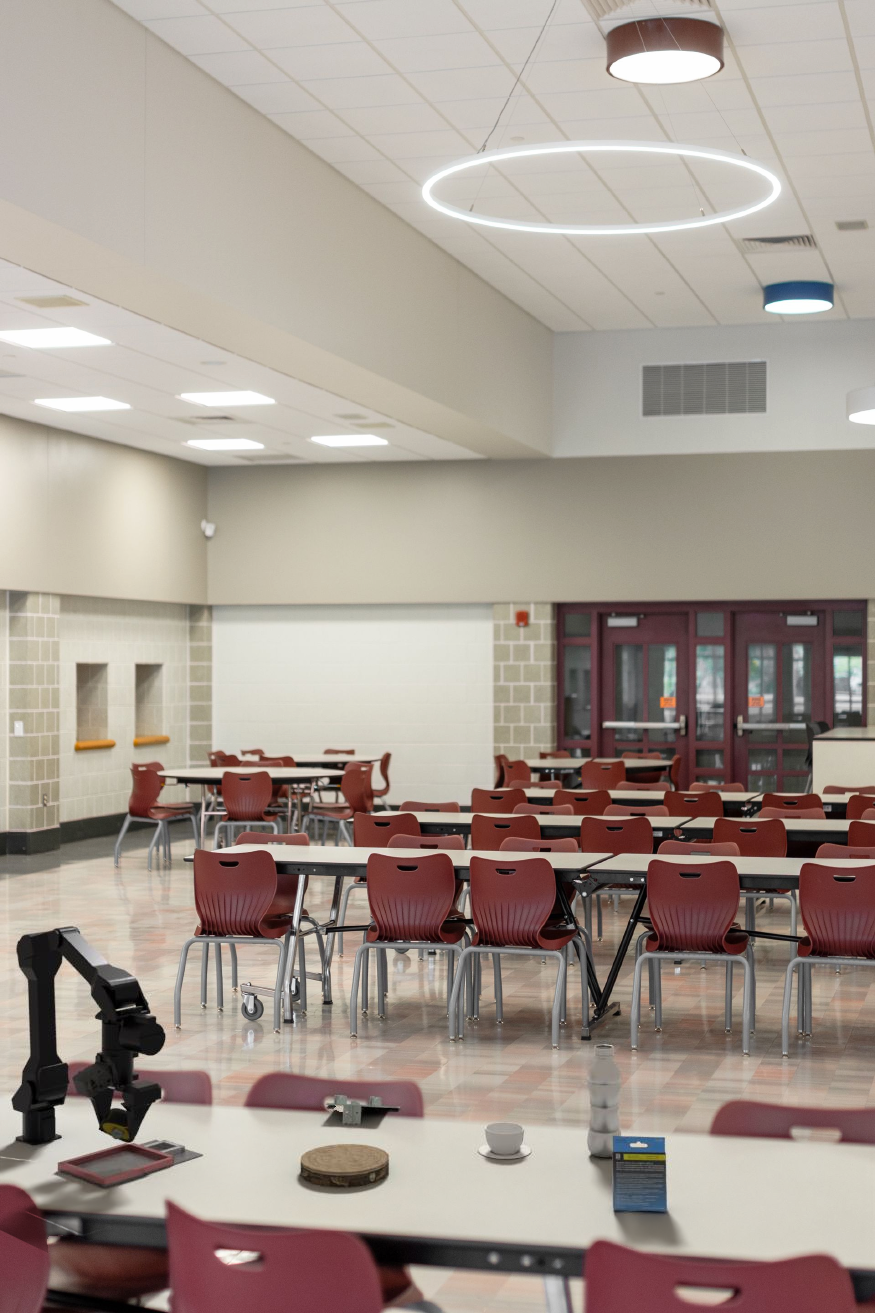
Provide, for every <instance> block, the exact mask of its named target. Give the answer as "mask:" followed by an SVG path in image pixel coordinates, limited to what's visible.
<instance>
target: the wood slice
mask: <svg viewBox="0 0 875 1313" xmlns="http://www.w3.org/2000/svg"><path fill="white" fill-rule="evenodd" d="M389 1158H390V1155H389V1153H388V1152H387V1151H385V1150H384V1149H382V1148H380V1147H376V1146H371V1145H368V1144H358V1143H356V1144H355V1143H342V1144H341V1143H339V1144H329V1145H324V1146H319V1147H315V1148H313V1149H311V1150H308V1151H306V1152H305V1153H303V1154H302V1155H301V1156H300V1177H301V1178H302V1180H303V1181H305V1182H306V1183H309V1184H311V1185H313V1186H318V1187H323V1188H330V1189H331V1188H332V1189H353V1188H362V1187H367V1186H370V1185H374V1184H377V1183H379V1182H381V1181H384V1180H385V1179H386V1178H388V1176H389V1174H390V1159H389Z"/></svg>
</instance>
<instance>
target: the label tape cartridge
mask: <svg viewBox="0 0 875 1313" xmlns="http://www.w3.org/2000/svg"><path fill="white" fill-rule="evenodd" d="M638 1142H639V1143H640V1144H643V1145H647V1146H631V1144H634V1145H635V1144H637V1143H638ZM611 1158H612V1159H611V1162H612V1164H611V1167H612V1209H613V1210H614V1211H629V1212H631V1211H632V1212H633V1211H637V1212H638V1211H640V1212H641V1211H642V1212H643V1211H645V1212H649V1211H650V1212H661V1213H662V1212H663V1213H664V1212H667V1210H668V1198H667V1197H668V1196H667V1195H668V1194H667V1193H668V1191H667V1190H668V1188H667V1183H668V1182H667V1152H666V1137H664V1136H663V1137H662V1136H661V1137H660V1136H659V1137H658V1136H633V1135H632V1136H630V1135H629V1136H627V1135H624V1136H623V1135H621V1136H613V1151H612V1157H611Z"/></svg>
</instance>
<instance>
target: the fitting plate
mask: <svg viewBox="0 0 875 1313" xmlns="http://www.w3.org/2000/svg"><path fill="white" fill-rule="evenodd" d="M203 1156H204V1154H202V1153H200V1152H196V1151H193V1150H190V1149H187V1148H186V1146H185V1145H183V1144H180V1143H178V1142H173V1141H169V1140H166V1139H162V1140H158V1139H153V1140H149V1141H147V1142H144V1143H139V1144H138V1143H135V1142H131V1143H126V1142H123V1143H121V1144H118V1145H115V1146H110V1147H108V1148H104V1149H100V1150H97V1151H93V1152H90V1153H86V1154H84V1155H80V1156H76V1157H74V1158H73V1157H72V1158H69V1159H67V1160H62V1161H59V1162H58V1161H57V1172H59V1173H62V1174H64V1175H66V1174H67V1176H69V1175H70V1177H72V1178H74V1179H77V1180H80V1181H82V1180H83V1181H82V1182H85V1181H86V1183H89V1184H90V1185H94V1186H96V1187H99V1188H102V1189H104V1190H105V1189H108V1188H110V1187H111V1188H112V1187H114V1186H117V1185H118V1186H119V1185H121V1184H124V1183H127V1182H131V1181H133V1180H137V1179H139V1178H143V1177H146V1176H149V1175H150V1174H151V1173H154V1172H157V1171H160V1170H164V1169H166V1168H169V1167H172V1166H176V1165H179V1164H181V1163H185V1162H188V1161H191V1160H193V1159H194V1160H195V1159H197V1158H200V1157H203Z"/></svg>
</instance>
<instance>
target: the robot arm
mask: <svg viewBox="0 0 875 1313" xmlns="http://www.w3.org/2000/svg"><path fill="white" fill-rule="evenodd" d="M15 950H16V954H17V962H18V968H19V969H20V971H21V973H23V975H24V976H25V978H26V980H27V993H28V994H27V996H28V1022H29V1024H28V1027H29V1030H28V1031H29V1057H28V1059H27V1061H26V1063H25V1065H24V1067H23V1069H22V1072H21V1084H20V1086H19V1087H18V1088H17V1091H16V1092H15V1093H14V1095H13V1096H12V1097H11V1099H10V1100H11V1105H12V1110H13V1111H15V1112H19V1113H21V1114H22V1116H21V1117H22V1118H21V1119H22V1123H21V1124H22V1126H21V1127H22V1132H21V1133H22V1134H21V1135H19V1136H15V1141H19V1142H20V1143H21V1142H22V1143H24V1144H27V1145H30V1146H33V1147H34V1146H35V1147H36V1146H39V1145H42V1144H46V1143H49V1142H52V1141H57V1140H59V1139H62V1138H63V1135H61V1134H57V1133H56V1129H57V1126H56V1124H57V1123H56V1120H57V1119H56V1107H58V1106H63V1105H64V1104H65V1101H66V1097H67V1092H68V1090H69V1085H70V1083H71V1082H70V1079H69V1069H70V1068H69V1064H68V1063H67V1062H63V1060H62V1059H61V1057H60V1056H59V1055H58V1048H57V1047H58V1046H57V1045H58V1044H57V1043H58V1042H57V1018H56V1016H57V1014H56V986H55V985H56V983H55V979H56V977H57V974H58V972H59V970H60V968H61V966H62V964H63V957H64V959H66V961H67V962H68V963H69V964H70V965H71V967H73V969H75V970H76V971H77V972H78V974H79V975H80V976H81V977H82V978H83V979H85V981H86V982H87V983H88V984H89V986H90V996H91V997H92V999H93V1000H94V1002H95V1004H96V1005H97V1007H98V1008H99V1009H100V1010H99V1011H98V1012H97V1013H96V1014H95V1015H94V1019H95V1020H98V1021H101V1051H100V1052H97V1053H96V1055H95V1057H94V1058H95V1059H94V1060H95V1062H94V1063H92V1064H90V1065H88V1066H87V1067H85V1068H84V1069H82V1070H79V1071H78V1072H77V1073H76V1074H74V1075H73V1076H72V1082H73V1085H74V1088H75V1091H76V1093H77V1095H82V1096H85V1097H86V1098H89V1100H90V1102H91V1105H92V1106H93V1111H94V1114H95V1117H96V1119H97V1124H98V1125H100V1124H101V1122H102V1120H103V1118H104V1115H105V1113H106V1112H107V1111H109V1110H110V1109H112V1108H111V1107H112V1103H113V1100H114V1095H115V1094H114V1093H115V1091H117V1092H120V1093H121V1098H122V1100H123V1102H120V1105H121V1106H122V1107H123V1108H124V1110H126V1111H127V1124H128V1134H129V1138H134V1137H135V1136H136V1137H137V1135H138V1133H139V1131H138V1130H140V1128H141V1125H142V1123H143V1121H144V1120H145V1117H146V1115H147V1113H148V1111H149V1110H150V1109H151V1106H152V1105H153V1104H154V1103H156V1101H159V1100H161V1099H162V1096H163V1095H162V1091H163V1088H162V1086H161V1085H160V1084H159V1083H158V1082H154V1081H150V1080H147V1079H144V1080H142V1081H138V1080H139V1078H140V1077H139V1076H140V1075H139V1073H137V1072H135V1071H134V1070H135V1069H134V1067H135V1064H134V1062H135V1060H134V1059H135V1058H139V1055H140V1054H141V1055H144V1056H148V1057H149V1056H150V1057H151V1056H152V1057H153V1056H155V1055H157V1054H158V1053H159V1052H161V1050H162V1049H163V1047H164V1046H165V1043H166V1037H167V1036H166V1033H165V1030H164V1028H163V1026H162V1025H161V1024H160V1023H157V1016H155V1015H152V1014H151V1009H150V1007H149V1002H148V1000H147V999H146V997H145V995H144V993H143V989H142V987H141V985H140V982H139V981H138V980H137V978H136V977H135V975H132V974H131V973H130V972H128V971H127V970H125V969H122V968H120V967H116V966H113V965H112V964H110V963H109V962H108V961H107V960H106V959H105V958H104V957H103V956H102V955H101V954H100V953H99V952H98V951H97V950H96V949H95V948H94V947H93V945H91V944H90V943H89V942H88V940H86V939H85V938H84V936H82V935H81V931H80V929H79V928H78V927H76V926H74V925H69V926H63V927H62V926H61V927H55V928H53V929H52V930H48V931H39V932H33V933H27V934H23V935H22V936H21V937H20V939H19V940H17V942H16V949H15ZM134 1081H137V1082H134ZM133 1082H134V1083H133ZM137 1132H138V1133H137ZM136 1134H137V1135H136ZM136 1137H135V1138H136Z"/></svg>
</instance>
